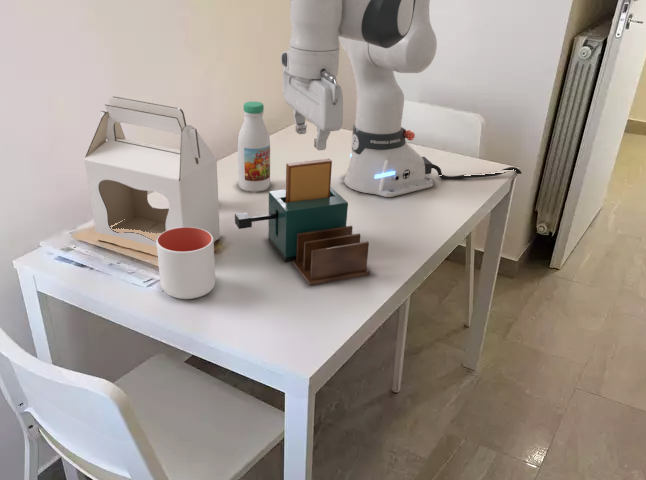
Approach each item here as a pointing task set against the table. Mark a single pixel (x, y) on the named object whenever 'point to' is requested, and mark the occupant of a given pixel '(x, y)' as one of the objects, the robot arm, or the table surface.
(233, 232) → the table surface
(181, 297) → the cup
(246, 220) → the carriage
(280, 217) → the toaster
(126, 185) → the gable box
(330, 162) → the toast
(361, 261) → the toast rack
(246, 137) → the milk bottle
